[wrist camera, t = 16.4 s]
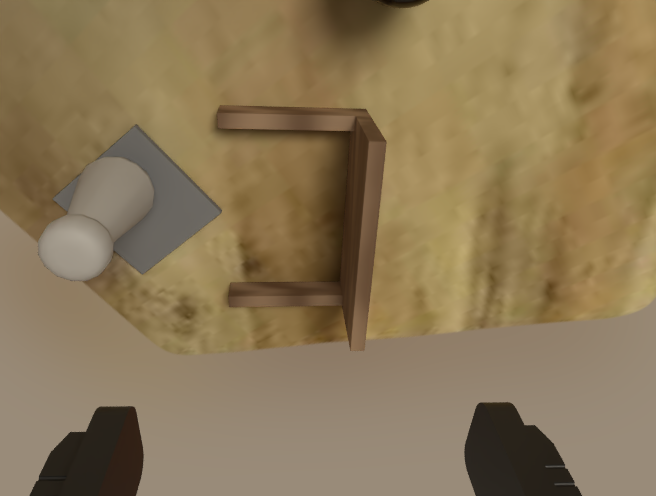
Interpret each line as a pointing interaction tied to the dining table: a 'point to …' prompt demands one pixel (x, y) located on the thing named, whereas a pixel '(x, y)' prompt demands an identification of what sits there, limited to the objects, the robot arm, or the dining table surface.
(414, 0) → the supplement bottle
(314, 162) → the dining table surface
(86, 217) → the salt shaker
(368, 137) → the wooden stand
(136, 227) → the mat
